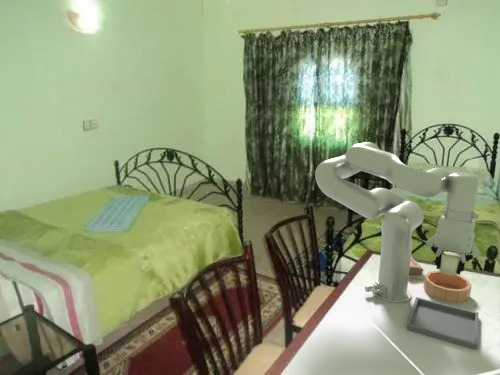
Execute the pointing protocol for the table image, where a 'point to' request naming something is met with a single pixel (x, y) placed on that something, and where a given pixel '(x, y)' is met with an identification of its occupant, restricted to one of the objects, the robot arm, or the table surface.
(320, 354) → the table surface
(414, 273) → the packaged product
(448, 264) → the egg
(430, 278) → the bowl
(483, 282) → the table surface
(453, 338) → the tray
